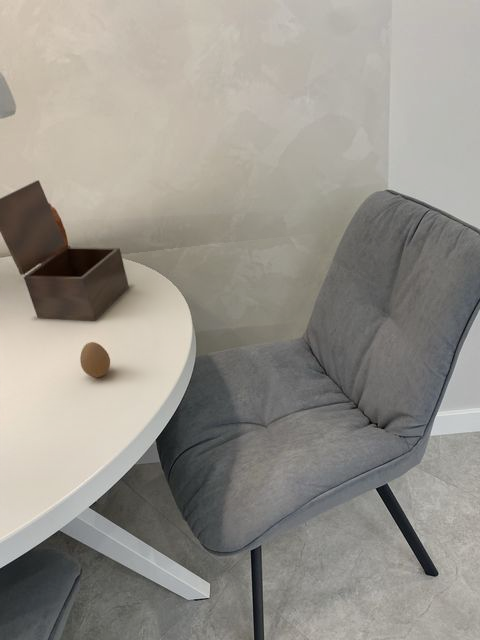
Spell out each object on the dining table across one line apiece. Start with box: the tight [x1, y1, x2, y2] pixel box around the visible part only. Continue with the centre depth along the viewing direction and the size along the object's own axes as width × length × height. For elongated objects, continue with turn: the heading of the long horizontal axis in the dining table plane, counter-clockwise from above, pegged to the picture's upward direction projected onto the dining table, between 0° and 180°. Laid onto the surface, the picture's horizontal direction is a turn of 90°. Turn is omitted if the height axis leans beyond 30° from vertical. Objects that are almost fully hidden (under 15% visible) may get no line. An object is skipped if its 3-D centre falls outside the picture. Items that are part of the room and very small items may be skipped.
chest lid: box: [0, 180, 66, 276], centre depth 104 cm, size 14×15×1 cm
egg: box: [79, 341, 111, 378], centre depth 86 cm, size 4×4×6 cm
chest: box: [23, 246, 130, 322], centre depth 109 cm, size 13×15×9 cm
